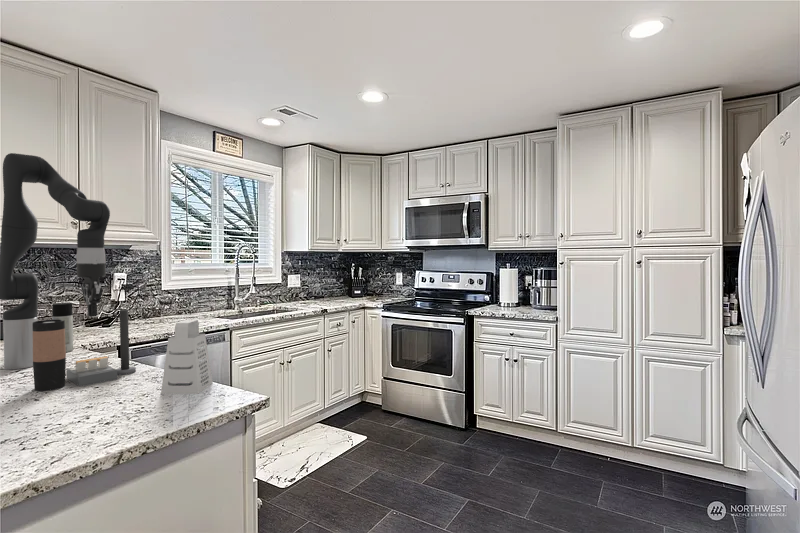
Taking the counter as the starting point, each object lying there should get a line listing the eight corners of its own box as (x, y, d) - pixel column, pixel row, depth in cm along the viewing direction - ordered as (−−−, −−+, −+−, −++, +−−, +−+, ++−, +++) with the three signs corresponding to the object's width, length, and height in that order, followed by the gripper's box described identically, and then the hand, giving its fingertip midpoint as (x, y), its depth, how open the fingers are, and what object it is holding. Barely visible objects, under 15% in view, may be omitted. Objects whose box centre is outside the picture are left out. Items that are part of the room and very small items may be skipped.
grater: (212, 382, 133) (212, 318, 133) (198, 393, 123) (197, 324, 122) (178, 383, 133) (177, 319, 133) (160, 394, 123) (159, 324, 122)
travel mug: (27, 392, 124) (26, 323, 123) (41, 385, 131) (40, 319, 131) (58, 390, 126) (57, 322, 125) (71, 383, 133) (69, 318, 133)
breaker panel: (66, 378, 138) (66, 368, 138) (102, 371, 146) (102, 362, 146) (79, 386, 130) (79, 376, 130) (117, 379, 137) (117, 369, 137)
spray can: (77, 349, 180) (76, 302, 180) (63, 353, 174) (62, 304, 173) (63, 349, 181) (62, 302, 180) (48, 353, 174) (47, 304, 174)
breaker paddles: (75, 370, 135) (75, 360, 134) (106, 365, 141) (106, 356, 141) (76, 372, 134) (77, 362, 133) (107, 366, 141) (108, 357, 140)
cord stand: (111, 372, 145) (110, 310, 144) (131, 369, 149) (130, 308, 149) (118, 376, 141) (116, 311, 140) (138, 372, 146) (137, 309, 145)
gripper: (71, 262, 139) (72, 315, 139) (83, 262, 130) (84, 319, 131) (98, 262, 144) (99, 313, 145) (112, 262, 136) (113, 316, 136)
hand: (92, 316), depth 138 cm, fingers closed
